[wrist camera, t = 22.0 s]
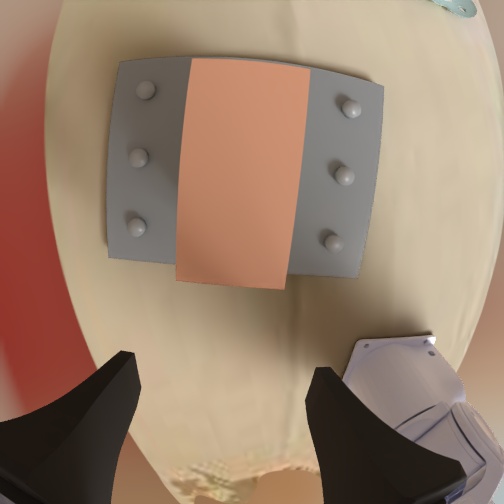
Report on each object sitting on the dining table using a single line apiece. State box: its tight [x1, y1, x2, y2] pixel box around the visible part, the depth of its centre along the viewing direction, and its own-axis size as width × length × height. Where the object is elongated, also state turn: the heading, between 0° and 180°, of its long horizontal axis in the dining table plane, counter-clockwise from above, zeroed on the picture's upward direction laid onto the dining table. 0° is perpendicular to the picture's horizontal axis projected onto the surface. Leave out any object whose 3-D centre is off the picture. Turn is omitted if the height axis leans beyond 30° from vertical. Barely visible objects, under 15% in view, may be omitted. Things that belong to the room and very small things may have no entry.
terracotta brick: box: [176, 58, 310, 290], centre depth 11 cm, size 4×8×4 cm, turn 174°
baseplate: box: [106, 56, 384, 278], centre depth 17 cm, size 18×14×2 cm
